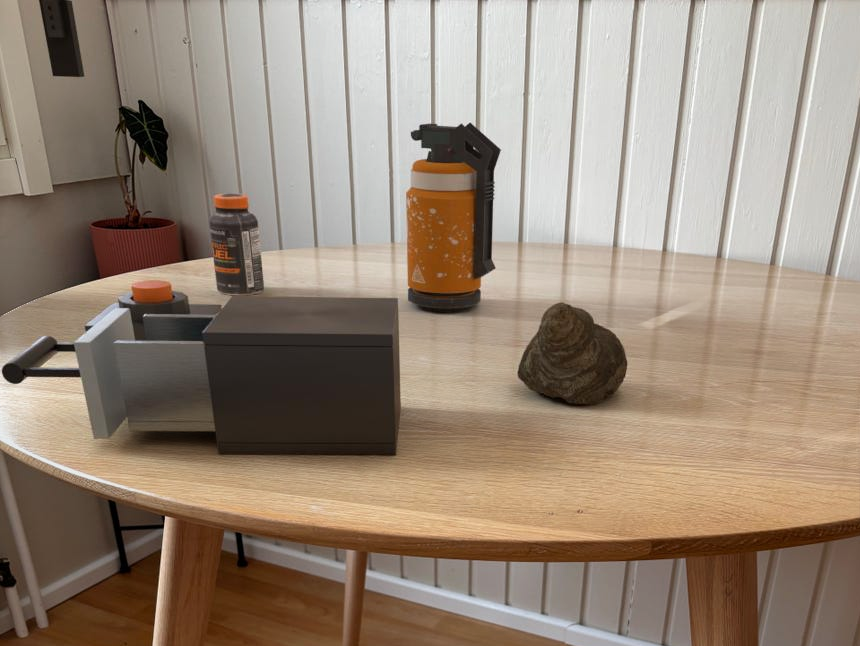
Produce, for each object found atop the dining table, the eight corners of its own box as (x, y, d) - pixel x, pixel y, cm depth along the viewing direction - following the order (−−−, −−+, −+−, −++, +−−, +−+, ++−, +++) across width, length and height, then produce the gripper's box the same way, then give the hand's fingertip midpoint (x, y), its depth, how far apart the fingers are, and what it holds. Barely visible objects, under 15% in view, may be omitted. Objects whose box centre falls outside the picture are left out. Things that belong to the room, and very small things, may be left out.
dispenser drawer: (10, 438, 72) (-15, 341, 68) (57, 395, 81) (37, 307, 77) (257, 440, 73) (247, 344, 69) (277, 397, 82) (268, 309, 78)
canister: (429, 294, 121) (428, 117, 110) (507, 304, 117) (514, 122, 106) (394, 308, 114) (389, 121, 104) (475, 319, 110) (479, 127, 100)
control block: (88, 347, 97) (80, 307, 95) (116, 323, 106) (109, 286, 104) (205, 348, 98) (200, 309, 96) (223, 324, 106) (219, 287, 104)
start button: (129, 305, 98) (126, 288, 97) (139, 296, 101) (136, 279, 100) (168, 306, 98) (165, 288, 97) (177, 297, 102) (174, 280, 101)
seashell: (472, 323, 84) (538, 347, 77) (563, 239, 86) (636, 255, 79) (524, 415, 92) (588, 445, 85) (606, 336, 94) (676, 359, 86)
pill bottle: (207, 291, 120) (194, 194, 114) (242, 284, 124) (231, 190, 118) (240, 298, 117) (228, 199, 111) (274, 290, 121) (265, 194, 115)
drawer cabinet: (218, 454, 73) (201, 332, 68) (244, 405, 83) (231, 295, 78) (396, 455, 73) (392, 334, 68) (400, 406, 83) (398, 297, 78)
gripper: (29, -249, 78) (84, 79, 91) (81, -213, 89) (124, 75, 102) (-62, -253, 78) (6, 77, 91) (1, -216, 89) (54, 73, 102)
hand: (68, 76), depth 96 cm, fingers closed
